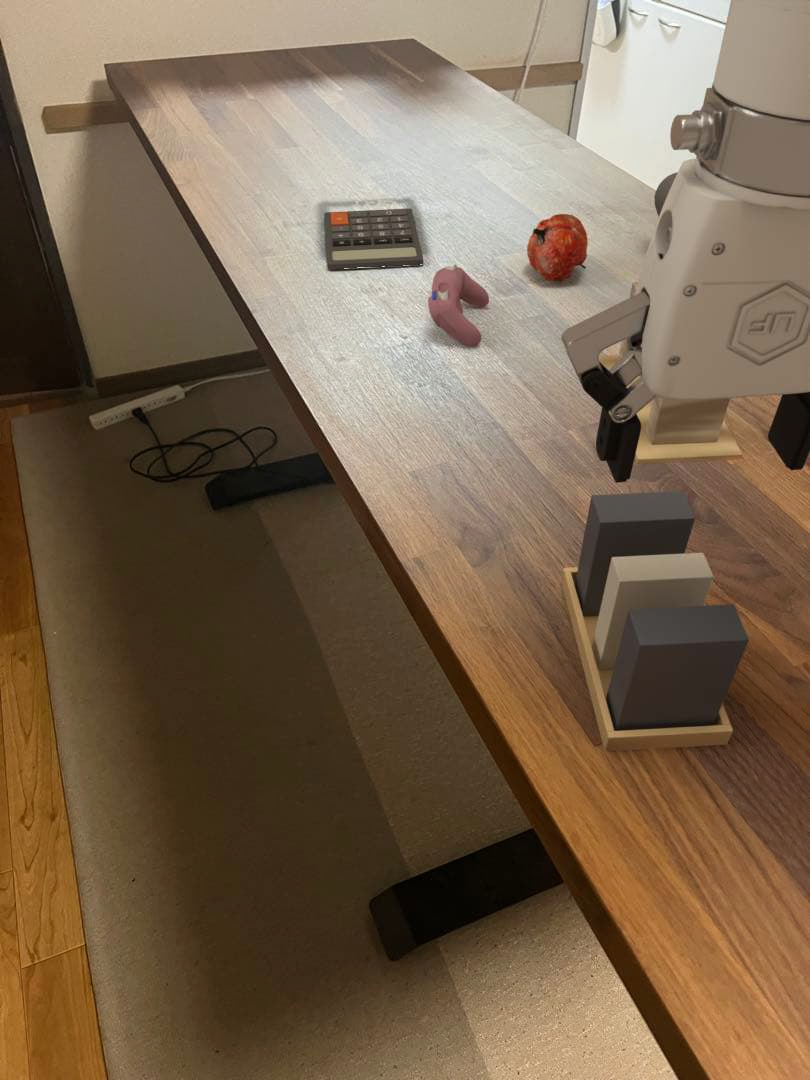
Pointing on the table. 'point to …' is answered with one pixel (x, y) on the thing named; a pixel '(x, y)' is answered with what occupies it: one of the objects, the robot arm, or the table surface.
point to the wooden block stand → (680, 425)
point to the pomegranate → (558, 247)
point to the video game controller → (456, 303)
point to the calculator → (371, 239)
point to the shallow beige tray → (600, 685)
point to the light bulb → (663, 192)
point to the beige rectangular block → (646, 593)
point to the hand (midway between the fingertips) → (699, 460)
